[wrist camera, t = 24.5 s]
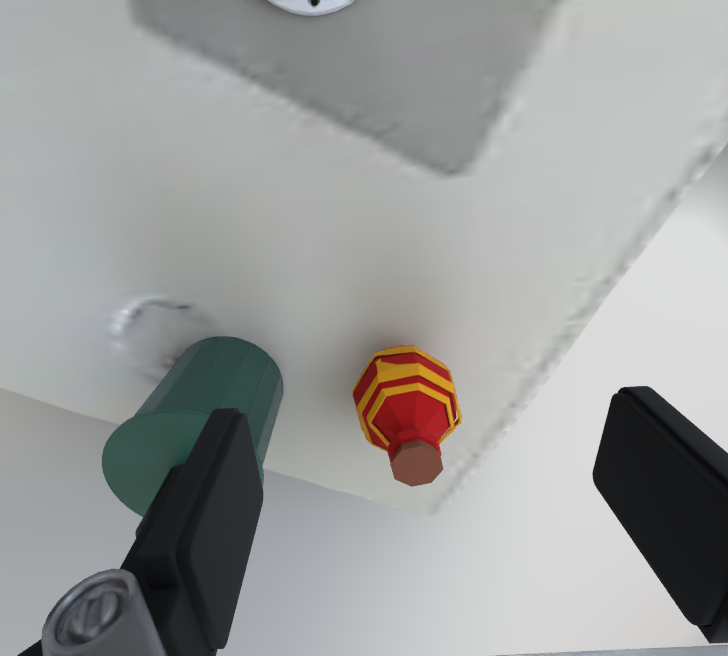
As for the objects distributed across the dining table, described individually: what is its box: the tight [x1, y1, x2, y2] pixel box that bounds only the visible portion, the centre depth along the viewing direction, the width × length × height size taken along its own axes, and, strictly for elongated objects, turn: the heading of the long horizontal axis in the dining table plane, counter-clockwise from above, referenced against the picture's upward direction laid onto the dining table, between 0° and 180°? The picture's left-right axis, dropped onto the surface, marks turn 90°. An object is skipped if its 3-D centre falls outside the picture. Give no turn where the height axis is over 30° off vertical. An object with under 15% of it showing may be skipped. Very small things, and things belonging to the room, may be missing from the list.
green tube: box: [133, 337, 283, 465], centre depth 39 cm, size 12×12×13 cm
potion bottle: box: [352, 345, 462, 486], centre depth 38 cm, size 10×10×15 cm
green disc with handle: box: [102, 408, 264, 538], centre depth 31 cm, size 13×13×7 cm
